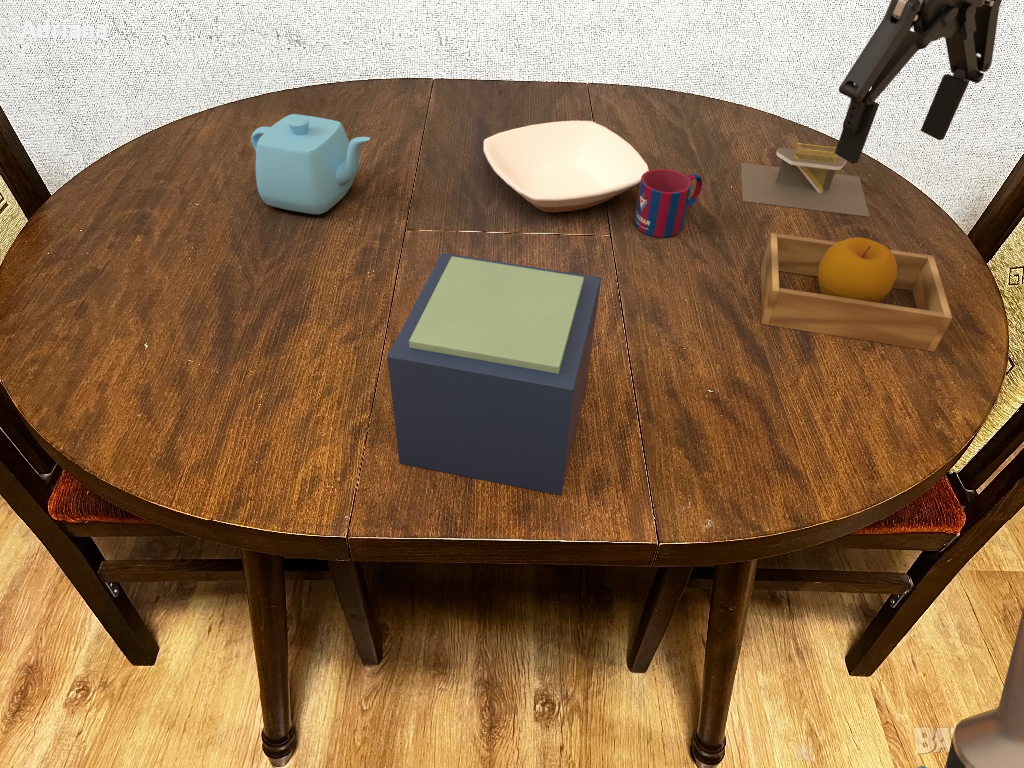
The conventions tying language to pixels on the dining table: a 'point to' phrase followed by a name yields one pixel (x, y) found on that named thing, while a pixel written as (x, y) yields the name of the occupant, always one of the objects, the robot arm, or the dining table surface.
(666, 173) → the mug
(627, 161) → the bowl
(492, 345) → the mat
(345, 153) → the teapot
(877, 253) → the apple
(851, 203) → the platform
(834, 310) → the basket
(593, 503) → the dining table surface
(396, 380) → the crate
